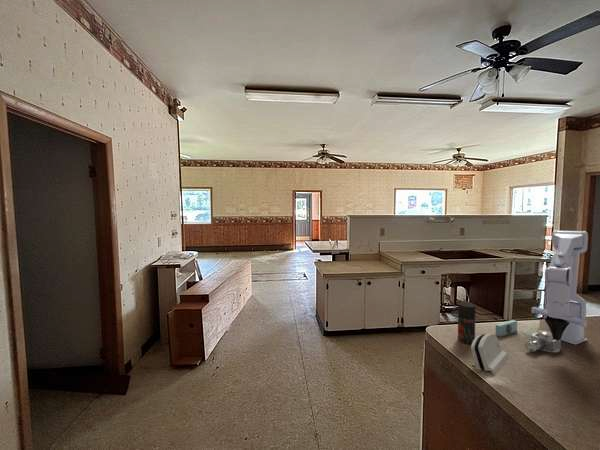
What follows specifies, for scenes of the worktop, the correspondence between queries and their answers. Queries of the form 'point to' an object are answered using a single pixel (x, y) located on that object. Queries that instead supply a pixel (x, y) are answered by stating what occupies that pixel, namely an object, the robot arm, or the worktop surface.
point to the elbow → (542, 343)
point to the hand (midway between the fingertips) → (556, 339)
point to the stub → (549, 337)
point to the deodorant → (466, 322)
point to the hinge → (488, 353)
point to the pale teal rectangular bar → (506, 328)
